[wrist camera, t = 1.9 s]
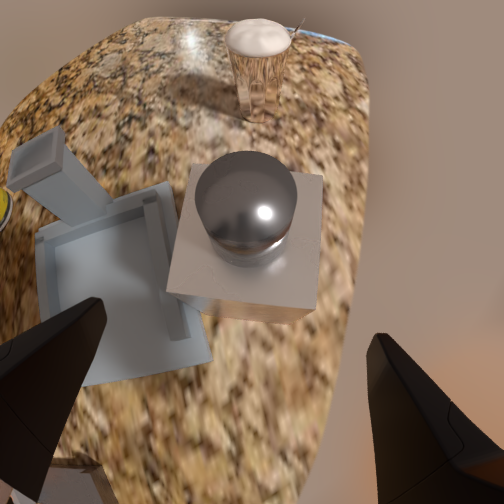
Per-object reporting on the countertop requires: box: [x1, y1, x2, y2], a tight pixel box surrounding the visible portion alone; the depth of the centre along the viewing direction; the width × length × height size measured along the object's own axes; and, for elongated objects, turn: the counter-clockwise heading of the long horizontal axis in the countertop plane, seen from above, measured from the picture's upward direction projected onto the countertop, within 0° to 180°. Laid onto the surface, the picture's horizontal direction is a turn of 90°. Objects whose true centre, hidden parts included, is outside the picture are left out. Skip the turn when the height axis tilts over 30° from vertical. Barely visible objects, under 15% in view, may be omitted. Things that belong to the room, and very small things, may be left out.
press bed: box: [6, 125, 213, 387], centre depth 16 cm, size 13×12×10 cm
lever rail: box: [38, 464, 119, 504], centre depth 15 cm, size 4×16×2 cm, turn 106°
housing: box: [166, 151, 323, 325], centre depth 15 cm, size 6×6×12 cm
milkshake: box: [225, 17, 305, 123], centre depth 20 cm, size 4×5×10 cm
